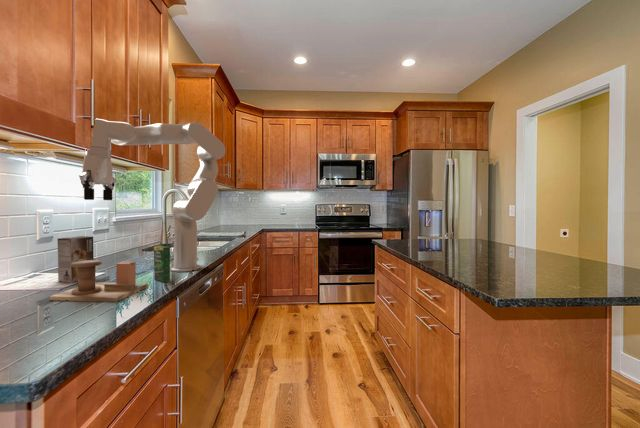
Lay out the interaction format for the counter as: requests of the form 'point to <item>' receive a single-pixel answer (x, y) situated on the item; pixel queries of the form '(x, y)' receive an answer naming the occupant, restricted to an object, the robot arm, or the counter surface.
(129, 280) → the tab block
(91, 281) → the bobbin
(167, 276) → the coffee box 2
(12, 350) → the counter surface
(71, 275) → the coffee box
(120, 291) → the board
